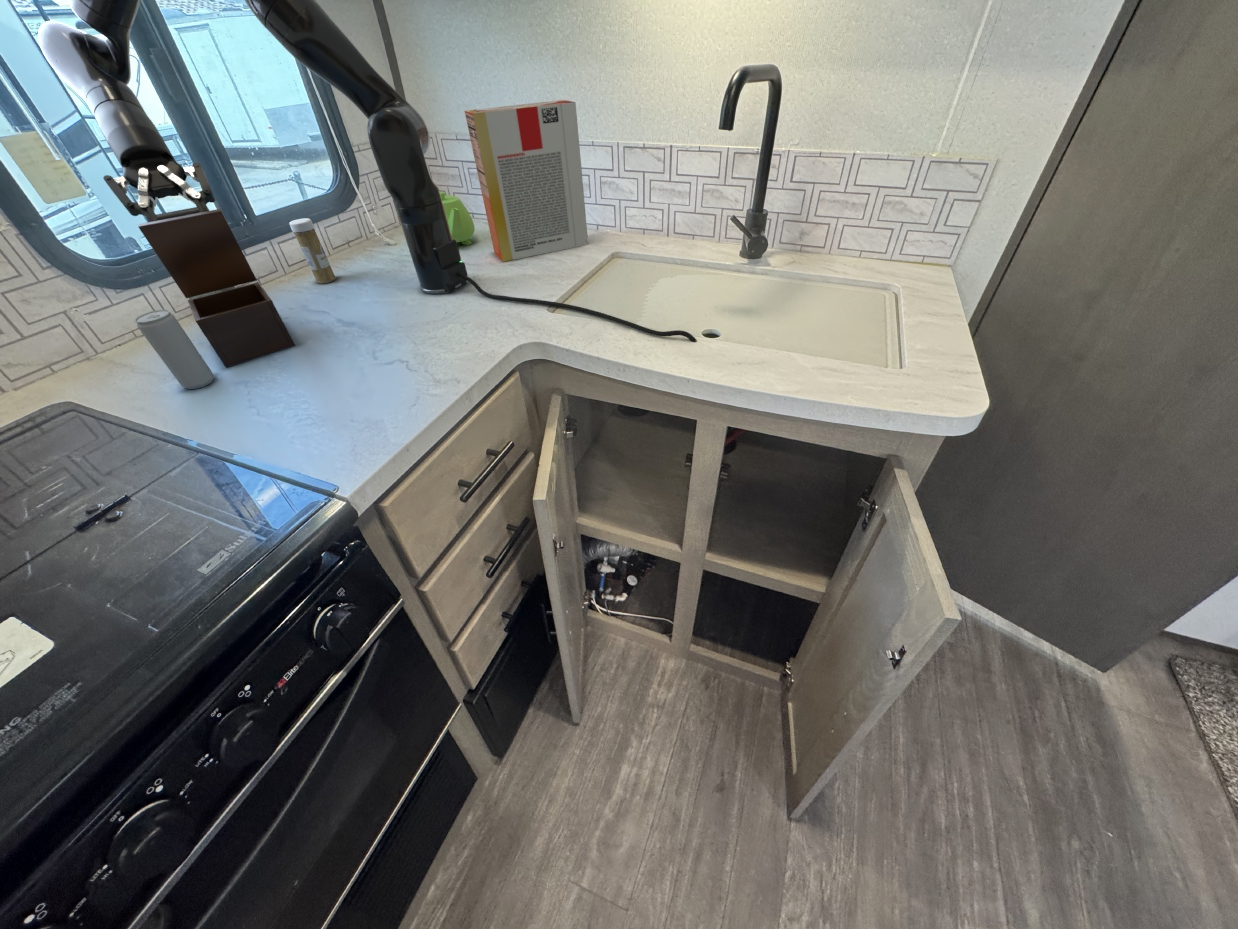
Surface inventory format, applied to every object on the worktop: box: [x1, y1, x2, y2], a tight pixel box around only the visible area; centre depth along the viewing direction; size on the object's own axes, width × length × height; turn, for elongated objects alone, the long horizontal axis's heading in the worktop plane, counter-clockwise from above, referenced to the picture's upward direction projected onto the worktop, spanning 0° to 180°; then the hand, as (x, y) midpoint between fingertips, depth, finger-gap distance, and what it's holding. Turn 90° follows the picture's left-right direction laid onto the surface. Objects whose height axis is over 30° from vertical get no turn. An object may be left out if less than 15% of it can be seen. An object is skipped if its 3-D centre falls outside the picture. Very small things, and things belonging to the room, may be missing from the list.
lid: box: [136, 206, 258, 299], centre depth 87 cm, size 13×12×6 cm
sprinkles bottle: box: [288, 217, 337, 285], centre depth 114 cm, size 5×5×13 cm
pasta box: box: [464, 99, 589, 263], centre depth 118 cm, size 23×8×30 cm, turn 116°
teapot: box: [439, 190, 476, 246], centre depth 132 cm, size 20×13×13 cm
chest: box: [187, 281, 296, 368], centre depth 91 cm, size 13×12×9 cm
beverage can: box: [134, 309, 215, 390], centre depth 80 cm, size 5×5×12 cm
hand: (186, 226), depth 84 cm, fingers closed on lid, 6 cm apart
